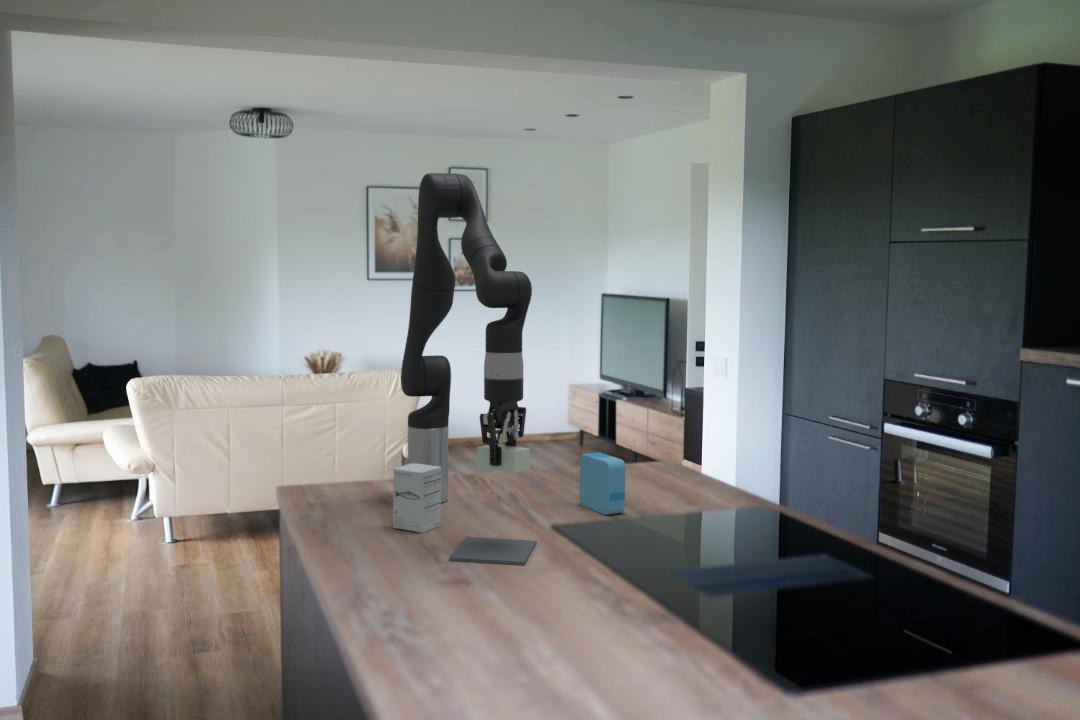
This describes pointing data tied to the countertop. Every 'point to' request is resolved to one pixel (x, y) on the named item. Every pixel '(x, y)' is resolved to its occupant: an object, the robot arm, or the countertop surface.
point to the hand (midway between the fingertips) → (503, 462)
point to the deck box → (505, 459)
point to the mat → (493, 551)
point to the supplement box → (417, 497)
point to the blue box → (602, 483)
